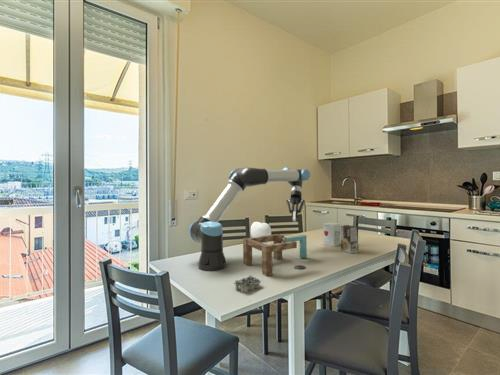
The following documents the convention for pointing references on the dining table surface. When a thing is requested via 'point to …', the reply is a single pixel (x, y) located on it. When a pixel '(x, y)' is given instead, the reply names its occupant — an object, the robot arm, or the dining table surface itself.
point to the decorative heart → (259, 232)
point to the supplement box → (331, 234)
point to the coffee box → (349, 239)
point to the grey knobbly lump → (247, 284)
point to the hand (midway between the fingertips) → (294, 220)
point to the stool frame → (267, 251)
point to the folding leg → (302, 244)
